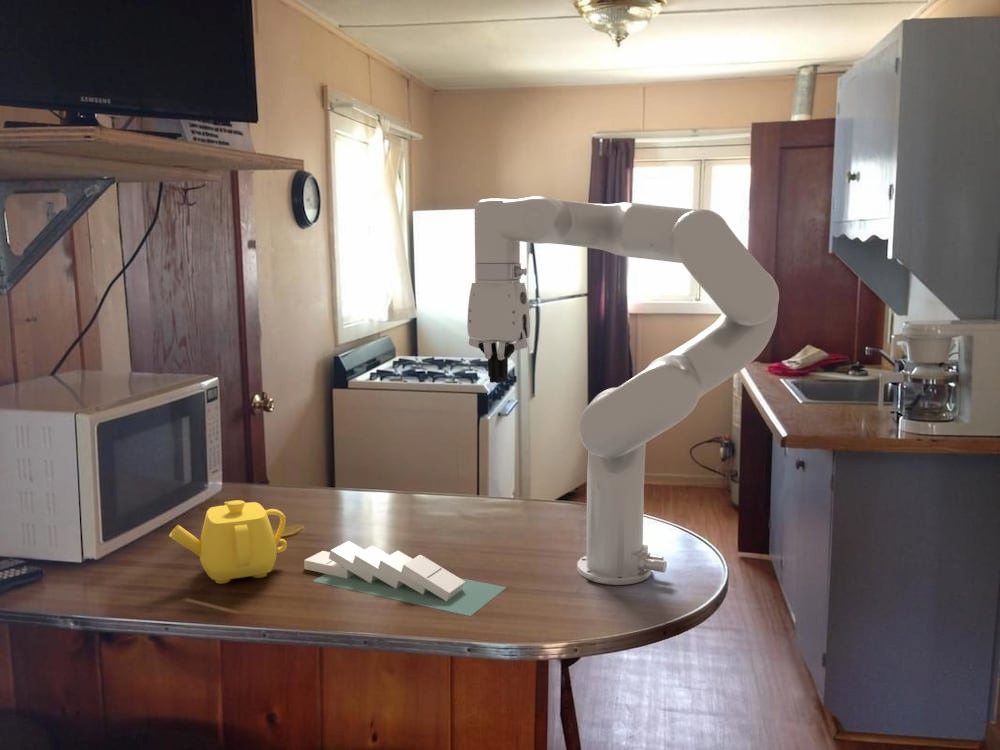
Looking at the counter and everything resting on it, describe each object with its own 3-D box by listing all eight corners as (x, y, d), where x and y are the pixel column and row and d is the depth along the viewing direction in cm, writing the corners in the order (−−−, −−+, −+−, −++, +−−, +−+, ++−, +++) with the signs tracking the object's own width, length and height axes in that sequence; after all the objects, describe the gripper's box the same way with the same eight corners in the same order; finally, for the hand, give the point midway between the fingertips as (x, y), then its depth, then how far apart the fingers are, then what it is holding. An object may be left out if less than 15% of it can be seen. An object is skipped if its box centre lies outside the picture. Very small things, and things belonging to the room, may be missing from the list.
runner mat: (506, 589, 139) (506, 587, 139) (470, 618, 128) (470, 616, 128) (355, 559, 152) (355, 557, 152) (312, 583, 142) (312, 581, 142)
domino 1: (364, 559, 147) (322, 550, 151) (346, 569, 143) (304, 559, 147) (364, 568, 147) (323, 559, 151) (346, 578, 143) (304, 569, 147)
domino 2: (390, 564, 145) (348, 540, 148) (373, 574, 140) (330, 550, 144) (388, 573, 145) (346, 548, 149) (370, 583, 141) (328, 558, 144)
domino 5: (465, 581, 137) (420, 554, 141) (449, 592, 133) (403, 564, 136) (462, 589, 138) (417, 562, 141) (446, 601, 134) (400, 573, 137)
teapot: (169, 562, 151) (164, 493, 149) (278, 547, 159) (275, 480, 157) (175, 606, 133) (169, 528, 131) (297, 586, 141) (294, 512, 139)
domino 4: (441, 575, 140) (397, 550, 143) (425, 586, 136) (380, 560, 139) (439, 583, 141) (395, 558, 144) (422, 594, 136) (378, 568, 140)
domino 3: (415, 569, 142) (372, 545, 146) (398, 580, 138) (354, 554, 141) (412, 578, 143) (370, 553, 146) (396, 589, 138) (352, 563, 142)
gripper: (547, 273, 144) (546, 381, 147) (469, 272, 150) (470, 375, 153) (528, 275, 137) (528, 388, 140) (447, 274, 144) (449, 382, 147)
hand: (498, 381), depth 147 cm, fingers closed
